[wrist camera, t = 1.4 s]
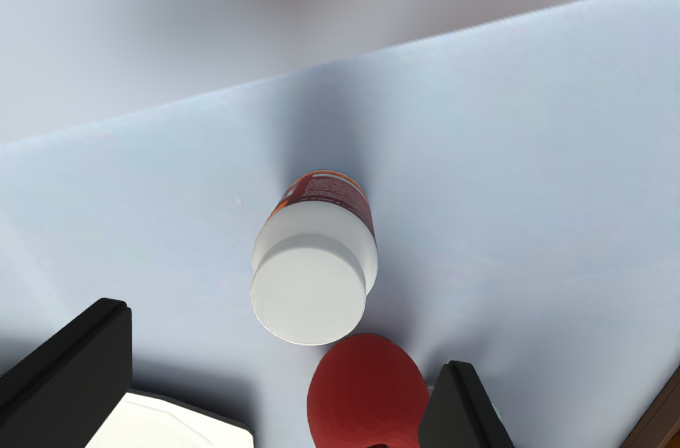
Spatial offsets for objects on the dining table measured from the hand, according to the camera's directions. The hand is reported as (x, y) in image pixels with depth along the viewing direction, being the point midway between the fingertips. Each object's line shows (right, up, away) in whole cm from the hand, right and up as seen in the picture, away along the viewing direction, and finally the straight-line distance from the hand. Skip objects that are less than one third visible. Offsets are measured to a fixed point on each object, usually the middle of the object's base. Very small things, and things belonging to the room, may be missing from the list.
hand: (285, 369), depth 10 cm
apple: (+4, -7, +18) cm, 20 cm away
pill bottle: (+1, +5, +14) cm, 15 cm away
